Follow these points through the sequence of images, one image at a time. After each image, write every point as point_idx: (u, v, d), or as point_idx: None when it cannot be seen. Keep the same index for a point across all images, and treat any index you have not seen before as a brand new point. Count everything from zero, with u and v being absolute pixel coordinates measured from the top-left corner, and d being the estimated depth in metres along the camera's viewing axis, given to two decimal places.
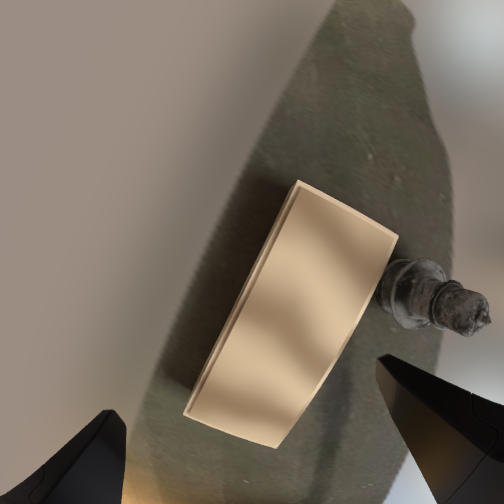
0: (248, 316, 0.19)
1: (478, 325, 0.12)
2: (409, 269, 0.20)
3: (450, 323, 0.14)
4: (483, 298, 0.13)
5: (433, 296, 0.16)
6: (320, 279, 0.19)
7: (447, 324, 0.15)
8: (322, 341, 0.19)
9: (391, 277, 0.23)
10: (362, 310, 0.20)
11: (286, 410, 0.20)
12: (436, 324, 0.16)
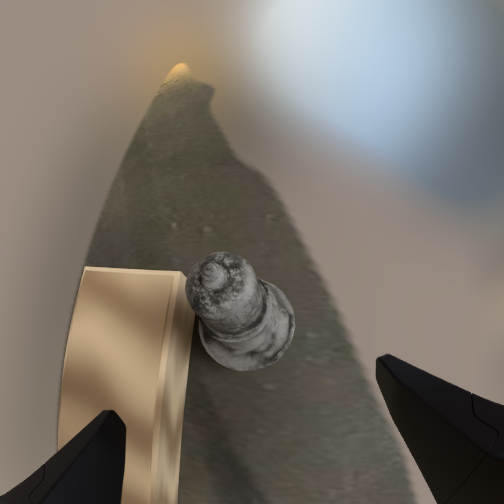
0: (67, 392, 0.15)
1: (212, 289, 0.10)
2: None
3: None
4: (217, 253, 0.11)
5: None
6: (110, 342, 0.17)
7: (206, 322, 0.12)
8: (131, 406, 0.15)
9: None
10: (164, 364, 0.16)
11: (134, 493, 0.12)
12: (219, 336, 0.13)
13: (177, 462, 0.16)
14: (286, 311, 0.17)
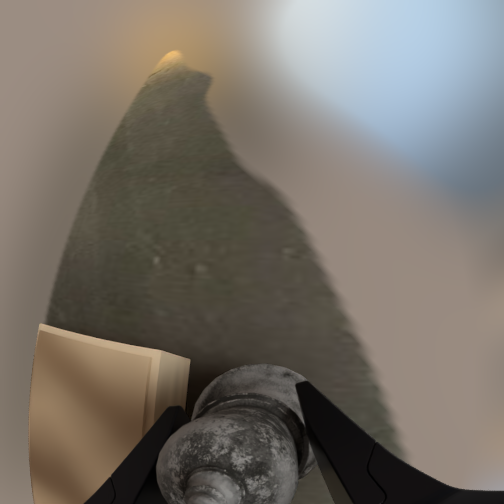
0: (37, 477, 0.08)
1: None
2: (207, 396, 0.11)
3: None
4: (216, 430, 0.04)
5: None
6: (75, 435, 0.10)
7: None
8: None
9: None
10: None
11: None
12: None
13: None
14: None
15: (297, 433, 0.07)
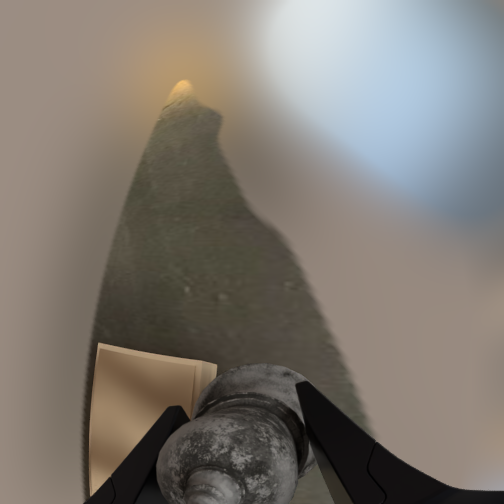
0: (97, 463, 0.14)
1: None
2: (207, 396, 0.11)
3: None
4: (216, 429, 0.04)
5: None
6: (136, 425, 0.16)
7: None
8: None
9: None
10: None
11: None
12: None
13: None
14: None
15: (297, 432, 0.07)
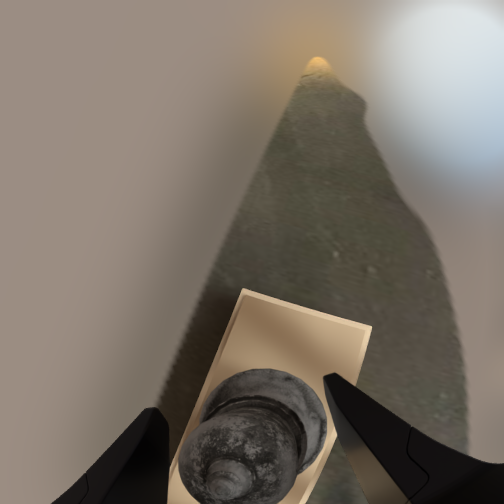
0: None
1: None
2: (215, 398, 0.12)
3: None
4: (232, 426, 0.05)
5: None
6: None
7: None
8: None
9: None
10: None
11: None
12: None
13: None
14: (317, 416, 0.11)
15: (297, 431, 0.08)
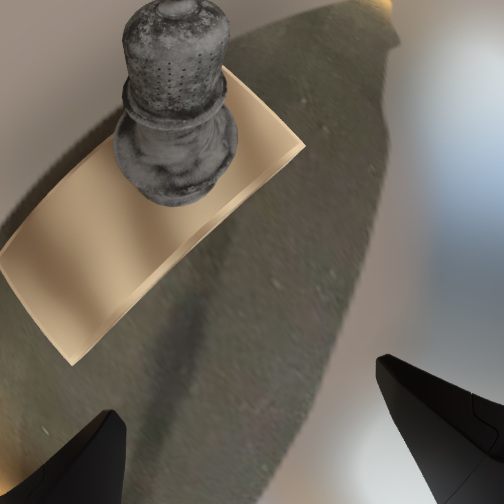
0: (107, 153, 0.14)
1: (164, 15, 0.05)
2: None
3: (126, 61, 0.06)
4: None
5: None
6: None
7: None
8: (174, 214, 0.15)
9: None
10: (236, 202, 0.16)
11: (98, 300, 0.14)
12: (134, 110, 0.08)
13: (149, 289, 0.18)
14: (228, 146, 0.12)
15: (220, 89, 0.08)
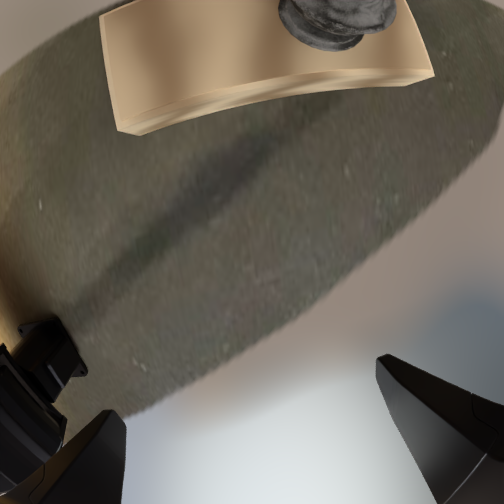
0: None
1: None
2: None
3: None
4: None
5: None
6: None
7: None
8: (300, 48, 0.12)
9: None
10: (358, 73, 0.13)
11: (186, 79, 0.13)
12: None
13: (233, 106, 0.17)
14: (384, 19, 0.09)
15: None
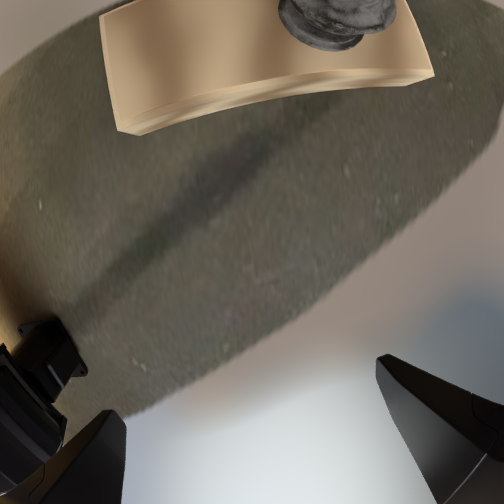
0: None
1: None
2: None
3: None
4: None
5: None
6: None
7: None
8: (300, 48, 0.12)
9: None
10: (358, 73, 0.13)
11: (186, 79, 0.13)
12: None
13: (233, 106, 0.17)
14: (383, 19, 0.09)
15: None
